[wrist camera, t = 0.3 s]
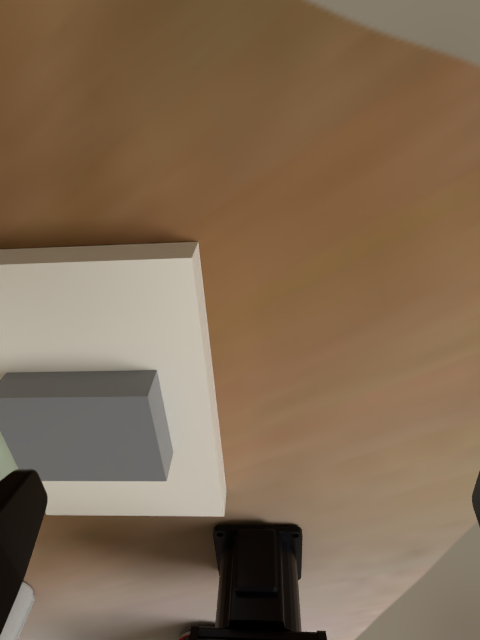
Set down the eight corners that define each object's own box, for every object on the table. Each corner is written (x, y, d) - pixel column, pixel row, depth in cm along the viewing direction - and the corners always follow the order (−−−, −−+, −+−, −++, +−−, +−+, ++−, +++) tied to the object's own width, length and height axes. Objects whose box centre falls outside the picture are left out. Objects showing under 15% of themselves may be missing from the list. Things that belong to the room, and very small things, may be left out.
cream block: (226, 490, 29) (224, 516, 27) (59, 489, 29) (46, 515, 28) (198, 241, 20) (191, 257, 18) (-43, 251, 20) (-71, 267, 19)
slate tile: (173, 452, 24) (166, 481, 22) (41, 452, 25) (24, 481, 23) (157, 370, 21) (147, 396, 19) (6, 372, 22) (-16, 398, 20)
